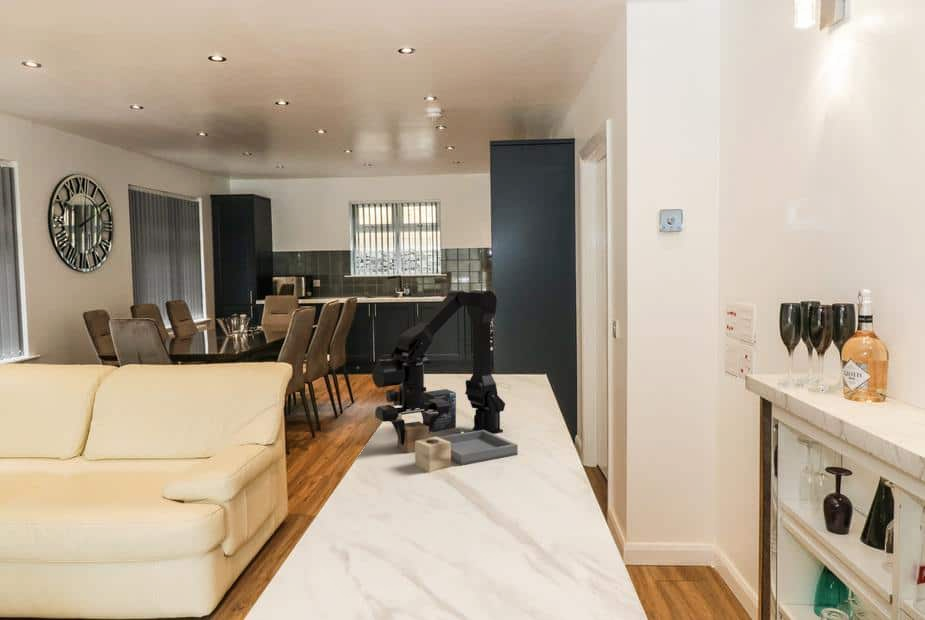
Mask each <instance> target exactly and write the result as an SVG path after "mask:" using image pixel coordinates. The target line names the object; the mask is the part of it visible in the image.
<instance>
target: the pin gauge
mask: <svg viewBox="0 0 925 620" xmlns="http://www.w3.org/2000/svg"><path fill="white" fill-rule="evenodd" d="M461 433H467V432H466V430H464V429H459V430H456V431H455V433H452V434H451V435H455V434H461ZM449 435H450V434H448V435H445V436H449ZM443 436H444V435H441V436H439V437H443Z"/></svg>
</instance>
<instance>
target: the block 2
mask: <svg viewBox="0 0 925 620" xmlns="http://www.w3.org/2000/svg"><path fill="white" fill-rule="evenodd" d="M438 437H439V436H433V437H432V436H431V437H429V438H427V439H422V440H418V441H415V452H414V463H415V466H416V467H417V468H419V469H422V470H424V471H426V472H428V473H432V472H437V471H441V470H444V469H447V468H448V469H449V468H451V467H452V460H451V442H449V441H446V440H444V439H441V438H438Z"/></svg>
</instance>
